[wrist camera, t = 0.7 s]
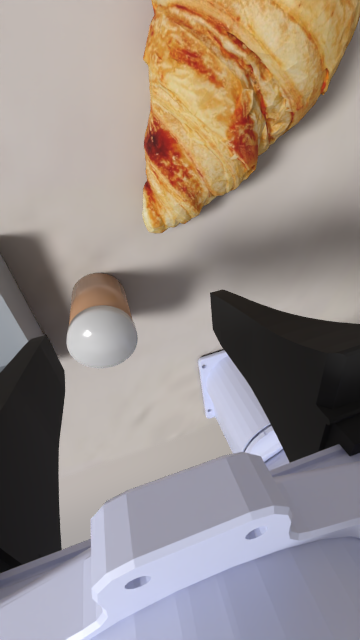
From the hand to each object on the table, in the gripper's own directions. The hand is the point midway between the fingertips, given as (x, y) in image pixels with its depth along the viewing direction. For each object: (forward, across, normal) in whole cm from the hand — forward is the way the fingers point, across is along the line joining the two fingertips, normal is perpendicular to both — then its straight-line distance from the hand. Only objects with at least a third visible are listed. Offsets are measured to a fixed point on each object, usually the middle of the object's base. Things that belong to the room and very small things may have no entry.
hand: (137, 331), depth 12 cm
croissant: (+10, -9, -10) cm, 17 cm away
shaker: (+10, +2, +3) cm, 10 cm away
